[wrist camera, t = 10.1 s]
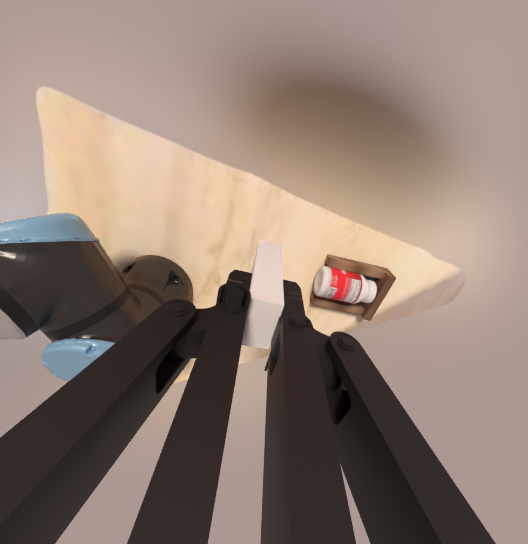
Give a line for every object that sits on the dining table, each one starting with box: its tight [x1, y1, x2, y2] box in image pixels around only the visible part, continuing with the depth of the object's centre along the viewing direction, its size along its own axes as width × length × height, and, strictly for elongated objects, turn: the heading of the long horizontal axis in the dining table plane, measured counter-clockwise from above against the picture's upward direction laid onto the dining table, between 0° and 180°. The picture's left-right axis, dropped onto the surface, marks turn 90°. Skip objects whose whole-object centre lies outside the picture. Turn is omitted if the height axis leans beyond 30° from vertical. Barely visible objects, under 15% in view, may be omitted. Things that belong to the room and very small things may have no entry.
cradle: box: [310, 255, 396, 321], centre depth 47 cm, size 13×11×4 cm
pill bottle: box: [314, 266, 377, 304], centre depth 45 cm, size 6×6×11 cm
